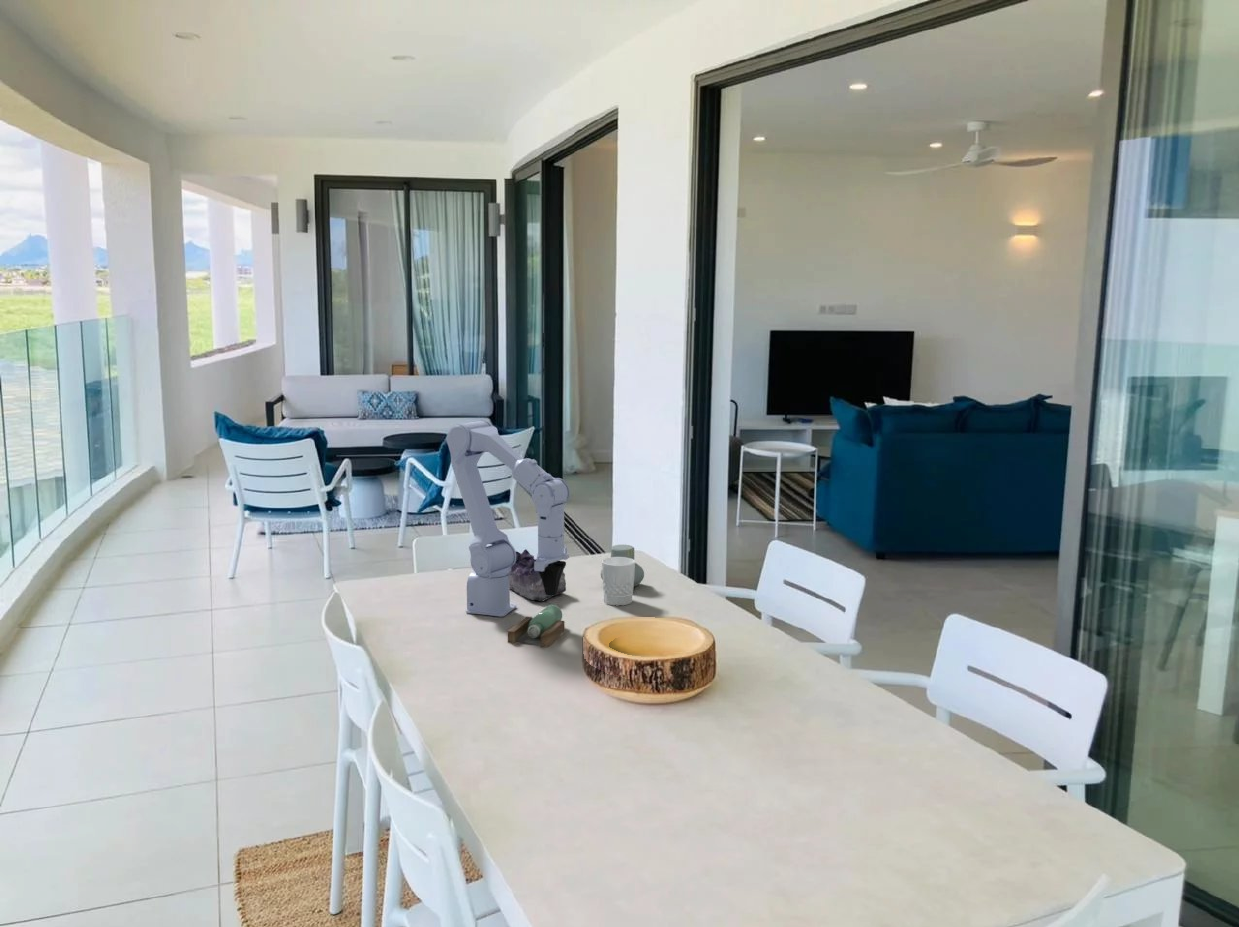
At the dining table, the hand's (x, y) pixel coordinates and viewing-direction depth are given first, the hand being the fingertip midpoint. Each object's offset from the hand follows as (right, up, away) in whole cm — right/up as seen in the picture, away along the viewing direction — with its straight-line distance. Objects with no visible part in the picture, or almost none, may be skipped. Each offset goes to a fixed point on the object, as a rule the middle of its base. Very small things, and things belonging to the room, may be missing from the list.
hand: (551, 594), depth 223 cm
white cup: (+15, -4, +18) cm, 24 cm away
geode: (-7, -3, +26) cm, 27 cm away
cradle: (-3, -8, -7) cm, 11 cm away
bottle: (0, -4, 0) cm, 4 cm away
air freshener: (+16, -2, +31) cm, 35 cm away
